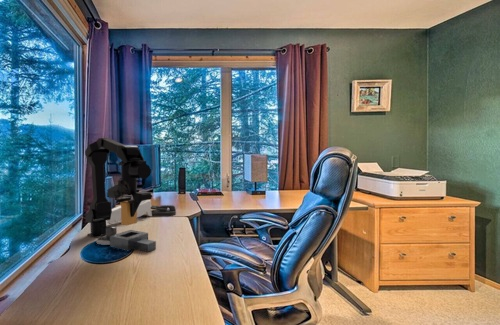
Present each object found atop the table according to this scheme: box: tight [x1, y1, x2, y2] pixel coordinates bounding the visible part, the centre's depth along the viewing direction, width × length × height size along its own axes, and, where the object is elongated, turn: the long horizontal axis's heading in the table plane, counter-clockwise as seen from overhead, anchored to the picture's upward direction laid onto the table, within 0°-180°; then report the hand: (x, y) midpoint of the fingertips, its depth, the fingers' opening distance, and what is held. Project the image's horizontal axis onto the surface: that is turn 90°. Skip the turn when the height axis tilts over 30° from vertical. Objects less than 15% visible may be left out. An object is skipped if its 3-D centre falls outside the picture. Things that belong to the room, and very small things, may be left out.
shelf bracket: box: [106, 199, 153, 225], centre depth 153 cm, size 6×25×13 cm, turn 148°
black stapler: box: [151, 204, 177, 217], centre depth 168 cm, size 9×7×25 cm
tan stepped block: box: [119, 201, 138, 227], centre depth 113 cm, size 3×6×9 cm, turn 155°
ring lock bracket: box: [95, 225, 157, 253], centre depth 114 cm, size 28×11×6 cm, turn 64°
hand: (129, 216), depth 113 cm, fingers closed on tan stepped block, 3 cm apart
